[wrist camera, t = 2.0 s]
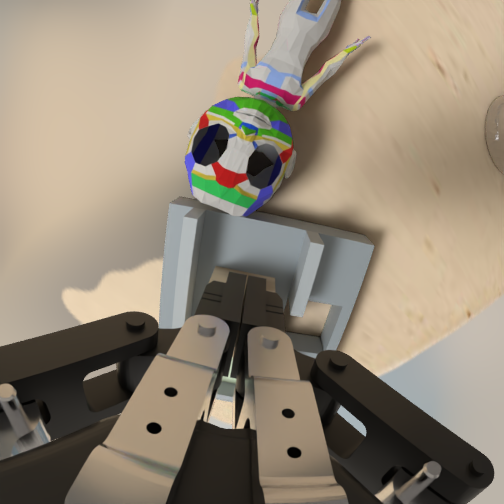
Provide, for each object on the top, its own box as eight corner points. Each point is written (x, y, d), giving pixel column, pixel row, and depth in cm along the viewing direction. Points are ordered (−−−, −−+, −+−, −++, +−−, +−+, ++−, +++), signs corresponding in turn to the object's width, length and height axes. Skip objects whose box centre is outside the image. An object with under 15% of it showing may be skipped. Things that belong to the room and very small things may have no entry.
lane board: (364, 235, 27) (386, 258, 22) (311, 381, 34) (316, 420, 28) (179, 196, 27) (157, 211, 21) (165, 354, 33) (149, 390, 28)
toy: (412, -56, 13) (289, 249, 19) (382, -16, 21) (277, 229, 27) (306, -100, 12) (136, 185, 18) (296, -52, 20) (169, 184, 26)
